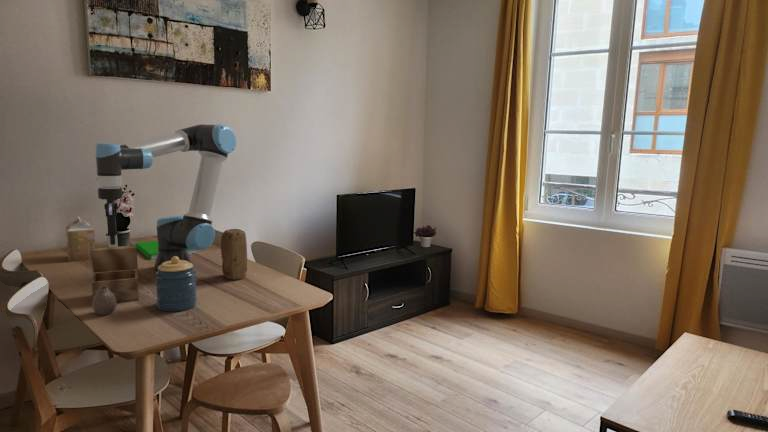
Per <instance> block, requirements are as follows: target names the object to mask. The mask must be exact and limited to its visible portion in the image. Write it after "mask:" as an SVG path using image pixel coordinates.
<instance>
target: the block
mask: <svg viewBox="0 0 768 432" xmlns="http://www.w3.org/2000/svg"><path fill="white" fill-rule="evenodd" d="M246 234H247V233H246V231H245V230H242V229H239V228H229V229H226V230H224V231H223V233H222V235H221V238H220V252H221V259H222V261H221V262H222V265H221V267H222V270H221V271H222V274H223V276H224V277H225V278H227V279H228V280H234V281H235V280H242V279H244V278H245V277H246V276H247V271H248V247H247V246H248V244H247V235H246Z"/></svg>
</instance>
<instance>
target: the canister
mask: <svg viewBox="0 0 768 432" xmlns="http://www.w3.org/2000/svg"><path fill="white" fill-rule="evenodd" d="M193 267H194V264H193V263H189V262H188V261H186V260H179V258H178V257H177V256H174V257H172V259H171V261H166V262H164V263H162V264H161V265H160V266H158V270H159V271H158V272H155V274H154V276H155V277H156V282H155V286H156V290H155V291H156V301H155V302H156V306H157V309H158V310H160V311H162V312H163V311H164V312H170V313H171V312H180V311H181V312H182V311H186V310H190V309H191V308H194V307H195V306H196V305H197V301H198V296H197V279H196V278H195V275H196V273H197V270H196V269H194V268H193Z"/></svg>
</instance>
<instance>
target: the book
mask: <svg viewBox="0 0 768 432" xmlns="http://www.w3.org/2000/svg"><path fill="white" fill-rule="evenodd" d="M134 246H136V248H137V251H139V252H140V253H141V254H142V255H143V256H145V258H147V259H148V260H150V261H151V260H156V258H157V254H158V240H152V241H143V242H136V243H135V244H134ZM187 252H188V254H190V255H193V254H192V253H198V252H199V251H198V250H190V249H187Z"/></svg>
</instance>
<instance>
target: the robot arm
mask: <svg viewBox="0 0 768 432" xmlns="http://www.w3.org/2000/svg"><path fill="white" fill-rule="evenodd" d="M236 146H237V137H236V135H235V132H234V130H233V129H232V128H231V127H229V126H227V125H223V124H196V125H192V126H189V127H184V128H182V129H177V130H175V131H174V132H173V133H169V134H165V135H161V136H156V137H151V138H147V139H141V140H138V141H135V142H134V141H133V142H129V143H126V144H119V143H117V142H99V143H97V144H96V145H95V156H94V157H95V163H96V164H95V165H96V175H97V176H96V178H94V179H95V181H96V182H97V186H98V187H99V188H98V189H97V197H98V199H100V200H106V203H104V210H105V217H106V224H107V233H105V236H106V237H107V239H108V240H107V241H108V247H119V246H118V234H120V232H119V231H118V228H117V216H118V208H119V207H118V203H117V202H116V200H121V199H122V198H123V188H122V186H123V178H122V176H123V175H122V171H124V170H145V169H146V170H147V169H149V168H151V167H152V165H153V162H154V158H156V157H160V156H165V155H168V154H173V153H176V152H181V153H185V152H193V151H194V152H196V151H197V152H198V153H199V155H200V163H199V166H198V171H197V174H196V178H195V179H196V180H195V183H194V188H193V192H192V196H191V200H190V203H189V204H190V205H189V208H188V211H187V212H185V213H184V214H183V215H173V216H172V215H171V216H164V217H160V218H158V219H157V221H156V236H157V240H156V241H158V254H157V258H156V259H155V261H154V264H153V265H154V271H155V273H157V272H158V271H159V270H158V266H160V265H161V264H162V263H164V262H166V261H171V259H172V257H174V256H177V257H178V258H179V260H186V261H188V262H189V263H192V259H191V257H190V255H189V254H188V252H187V249H190V250H197V252H199V251H204V250H207V249H208V248H210V246H212V244H213V242H214V241H215V237H216V231H215V228H214V226H213V225H212V224H213V220H212V218H211V212H212V208H213V203H214V199H215V194H216V189H217V186H218V181H219V178H220V173H221V169H222V164H223V162H225V161H227V159H228V155H229V154H230V153H232V152H233V151H234V150H235V149H236ZM192 264H193V263H192Z"/></svg>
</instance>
